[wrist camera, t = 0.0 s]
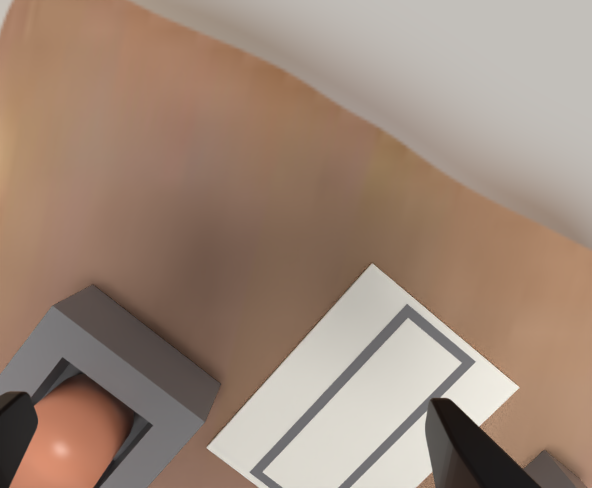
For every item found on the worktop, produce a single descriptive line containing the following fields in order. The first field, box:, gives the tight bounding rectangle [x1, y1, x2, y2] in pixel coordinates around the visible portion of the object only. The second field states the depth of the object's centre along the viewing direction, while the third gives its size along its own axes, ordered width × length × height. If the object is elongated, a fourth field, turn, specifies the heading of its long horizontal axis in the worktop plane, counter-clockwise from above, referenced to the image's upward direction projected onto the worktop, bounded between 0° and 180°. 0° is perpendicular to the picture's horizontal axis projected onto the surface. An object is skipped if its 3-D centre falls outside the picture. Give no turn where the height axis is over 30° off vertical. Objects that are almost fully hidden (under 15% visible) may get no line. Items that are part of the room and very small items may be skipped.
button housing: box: [0, 285, 221, 488], centre depth 24 cm, size 10×10×4 cm
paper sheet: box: [207, 263, 519, 488], centre depth 26 cm, size 16×12×1 cm
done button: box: [10, 374, 134, 488], centre depth 22 cm, size 5×5×4 cm
